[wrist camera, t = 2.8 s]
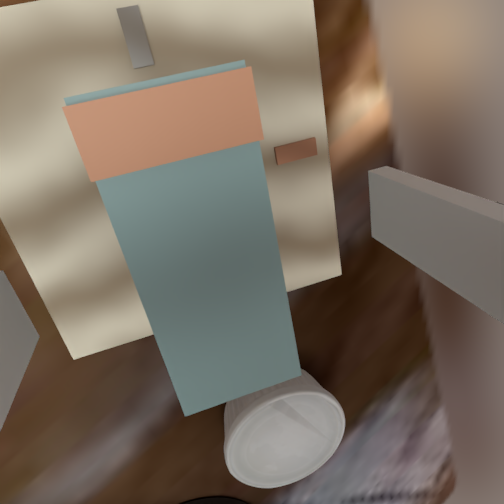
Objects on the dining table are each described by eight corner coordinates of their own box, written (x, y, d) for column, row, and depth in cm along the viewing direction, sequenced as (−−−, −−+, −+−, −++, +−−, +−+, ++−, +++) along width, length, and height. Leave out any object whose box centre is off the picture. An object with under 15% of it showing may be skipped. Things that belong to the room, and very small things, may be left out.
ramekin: (335, 355, 38) (363, 392, 33) (305, 440, 42) (325, 484, 37) (228, 351, 34) (242, 392, 30) (205, 444, 38) (213, 493, 33)
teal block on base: (246, 249, 28) (327, 373, 16) (152, 277, 27) (160, 433, 15) (207, 72, 23) (282, 51, 11) (88, 97, 22) (19, 107, 9)
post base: (331, 264, 34) (343, 276, 32) (77, 343, 30) (72, 362, 28) (295, -36, 24) (310, -48, 22) (-79, 30, 21) (-103, 23, 19)
